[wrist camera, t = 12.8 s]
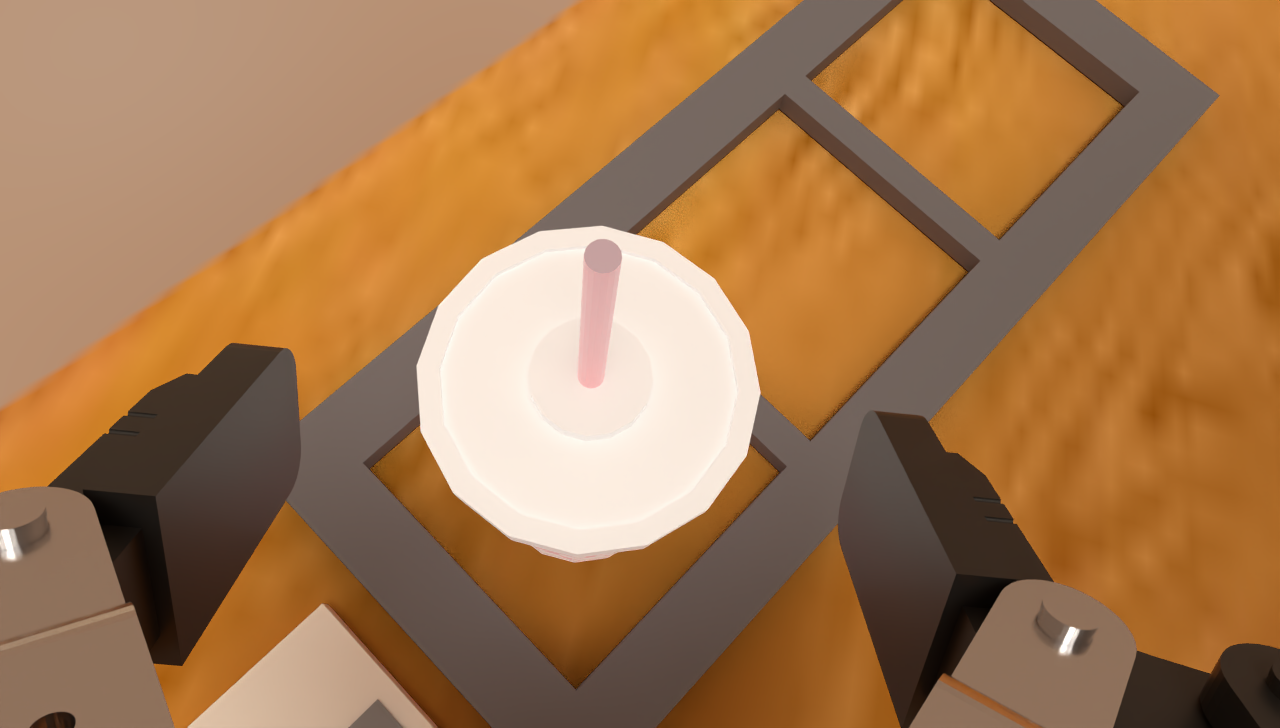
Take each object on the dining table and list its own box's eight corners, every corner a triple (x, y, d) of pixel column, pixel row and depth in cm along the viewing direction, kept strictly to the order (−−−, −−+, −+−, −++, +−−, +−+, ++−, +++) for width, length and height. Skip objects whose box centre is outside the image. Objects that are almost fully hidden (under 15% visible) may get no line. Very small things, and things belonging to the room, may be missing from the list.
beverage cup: (723, 548, 24) (926, 409, 10) (505, 625, 22) (422, 581, 9) (647, 346, 25) (741, 6, 12) (441, 408, 24) (296, 110, 11)
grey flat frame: (934, -99, 32) (943, -117, 31) (1202, 109, 30) (1219, 95, 29) (261, 468, 23) (250, 461, 22) (574, 812, 21) (574, 818, 20)
